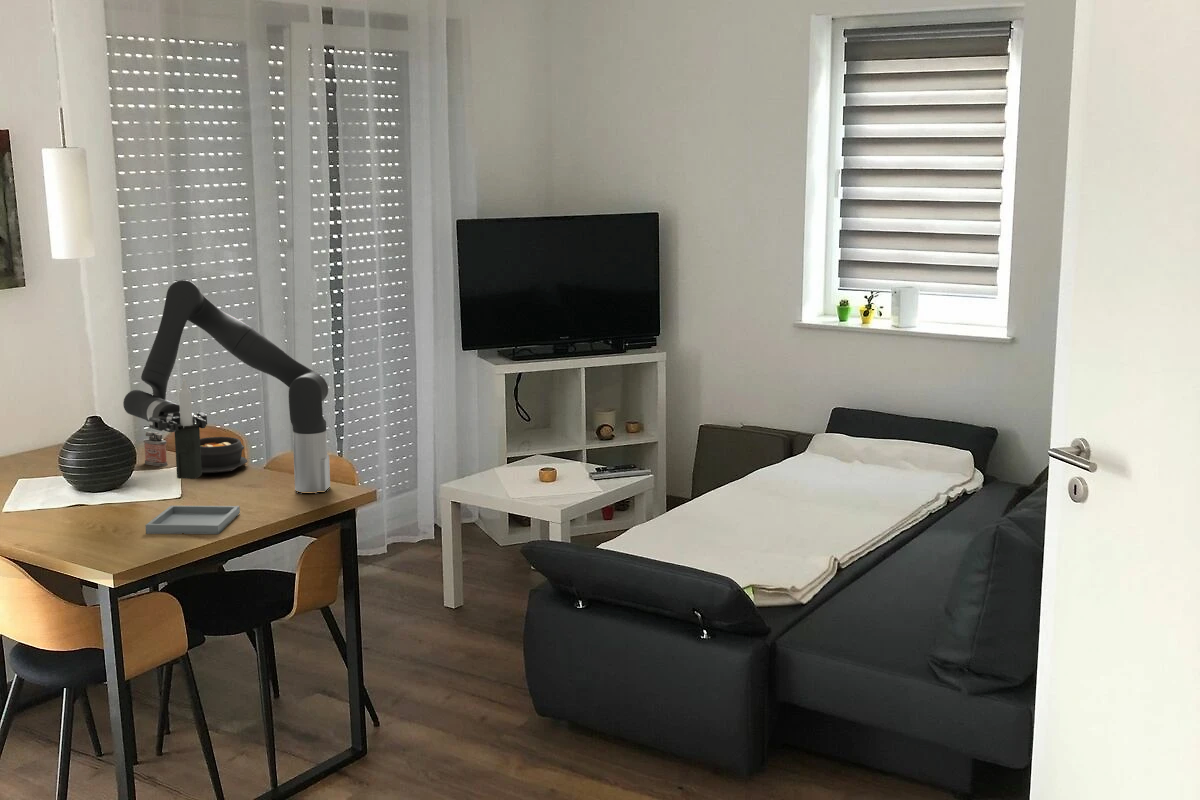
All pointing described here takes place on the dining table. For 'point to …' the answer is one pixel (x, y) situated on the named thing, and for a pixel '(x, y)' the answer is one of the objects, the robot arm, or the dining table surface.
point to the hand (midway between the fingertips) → (190, 425)
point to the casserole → (221, 454)
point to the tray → (192, 520)
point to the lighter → (155, 449)
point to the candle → (187, 439)
